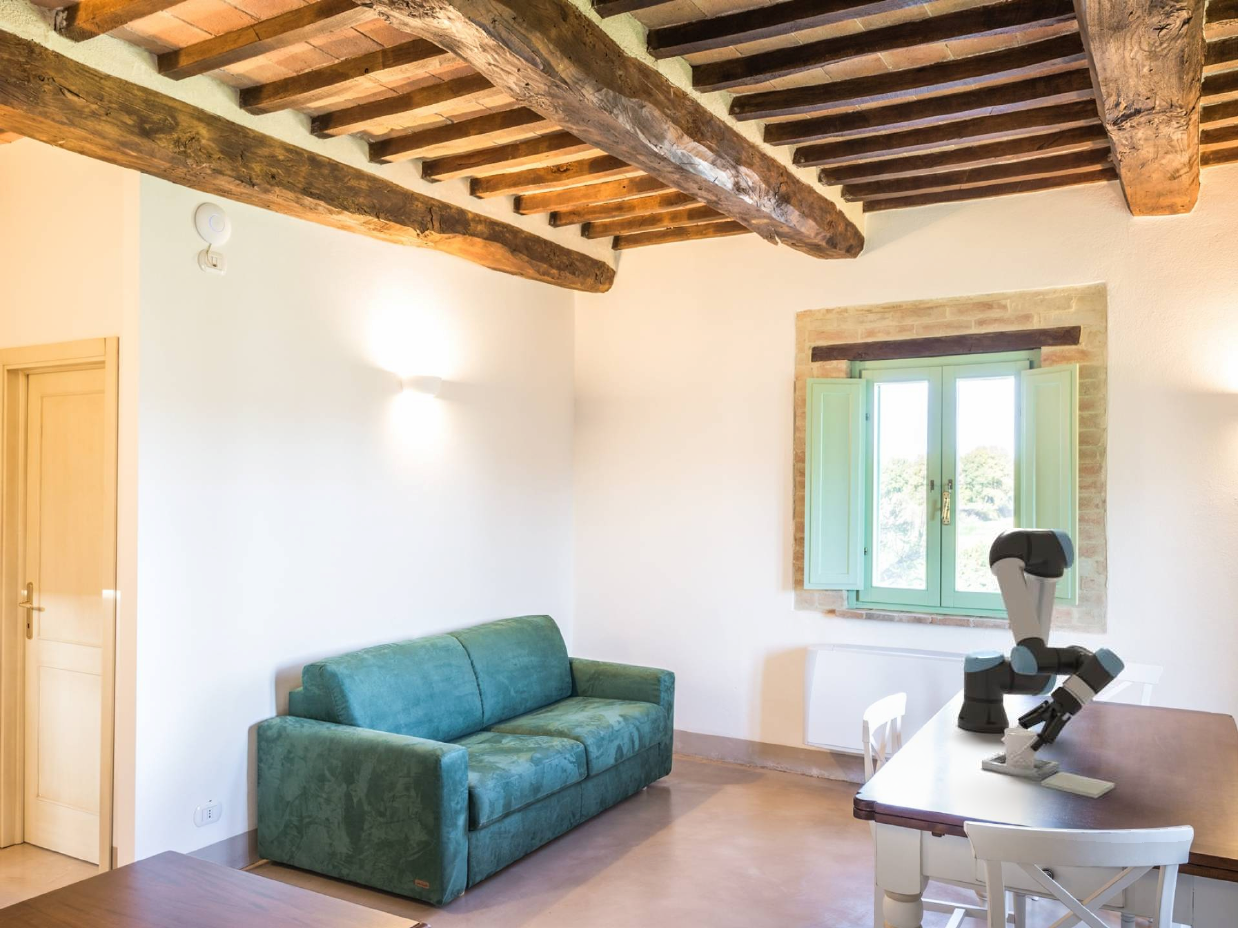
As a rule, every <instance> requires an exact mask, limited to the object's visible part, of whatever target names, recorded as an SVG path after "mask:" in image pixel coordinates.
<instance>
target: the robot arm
mask: <svg viewBox="0 0 1238 928" xmlns="http://www.w3.org/2000/svg"><path fill="white" fill-rule="evenodd" d="M988 555H989V556H988V565H989V566H990V567H989V568H990V571H991V574H992V575H994V576H995V577H996V580H997V583H998V586H999V590H1000V593H1001V598H1002V600H1003V604H1004V608H1005V611H1006V614H1007V617H1008V621H1009V625H1010V628H1011V632H1012V635H1013V638H1014V641H1015V645H1016V646H1014V647H1012V648H1011V650H1010V656H1005V655H1004V653H1003V652H1001V651H995V650H993V651H992V650H991V651H990V650H983V651H982V650H981V651H980V650H979V651H975V652H971V653H969V654H967V655H966V656H965V657H964V664H963V676H964V677H963V702H962V704H961V707H960V710H959V713H958V716H957V726H958V727H960V728H962V729H964V730H968V731H973V732H979V733H987V734H1001V733H1005V729H1007V728H1010V722H1009V721H1010V720H1009V718H1008V715H1007V710H1006V708H1005V705H1004V695H1011V696H1032V697H1037V696H1046V695H1049V694H1050V697H1051V698H1052V699H1053V700H1052V701H1049V700H1048V699H1045V700H1043V702H1041V703H1040V704H1039V705H1037V706H1036V707H1034V708H1033V709H1031V710H1029V711H1028V712H1026V713H1024V714H1022V715H1021V716H1019V717H1018V718H1017V721H1018V723H1017V724H1016V725H1014V727H1013V728H1022V729H1028V730H1029V729H1030V728H1032V727H1036V725H1039V724H1042V723H1044V724H1043V726H1042V728H1041V730H1040V732H1039V733H1037V734H1036V735H1037V736H1035V737H1034V738H1033V739H1032V740H1031V741H1030V742H1029V743H1028V744H1027V745H1026V746H1025V747H1024V748H1022V749H1021V750H1020V751H1019V752H1018V754H1019V755H1020V756H1021V757H1022V758H1023V759H1024V760H1025V761H1027V760H1028V759H1029V758H1031V757H1032V756H1033V755H1034V754H1035V753H1037V752H1038V751H1039V750H1040V749H1041V748H1043V746H1045V745H1046V746H1047V745H1048V744H1049V745H1052V744H1054V742H1055V740H1056V739H1057V738H1058V736H1059V735H1060V733H1061V732H1062V731H1063V730H1064V727H1065V726H1066V725H1067V723H1068V722H1069V721H1070V720H1071V719H1072V717H1074V716H1075V715H1077V713H1079V712H1080V711H1081V710H1082V709H1083V706H1086V705H1087V704H1088V703H1089V702H1092V701H1094V698H1095V697H1096V696H1097V695H1098V694H1099V693H1100V692H1101V691H1103V690H1104V689H1105V688H1106V687H1107V686H1108V685H1109V684H1110V683H1112V682H1113V681H1114V680H1115V679H1116V678H1118V676H1119V674H1120V673H1122V672H1123V670H1124V669H1125V663H1124V662H1123V660H1122V659H1121V658H1120V657H1119V656H1118V655H1117V654H1115V653H1114V652H1113V651H1112V650H1111V649H1109V648H1108V647H1101V648H1099V649H1097V650H1096V651H1094V652H1093V651H1091V650H1089V649H1087V648H1086V647H1084V646H1079V645H1075V644H1073V645H1068V646H1067V647H1055V646H1054V647H1053V646H1052V647H1050V646H1049V647H1048V645H1049V638H1050V630H1051V624H1052V617H1053V611H1054V610H1053V609H1054V603H1055V595H1056V589H1057V581H1058V580H1059V579H1061V578H1063V576H1064V571H1065V570H1066V569H1068V570H1069V569H1070V568H1071V567H1072V566H1073V564H1074V560H1075V548H1074V545H1073V542H1072V538H1071V537H1070V535H1069V534H1068V533H1067V532H1066V531H1065V530H1061V529H1056V528H1055V529H1054V528H1021V527H1013V528H1009V529H1006V530H1004V531H1003V532H1001V533H1000V534H999V535H998V536H997V537H996V538H995V539H994V540H993V543H991V547H990V550H989V553H988ZM1058 676H1064V677H1065V676H1067V678H1066V679H1065V680H1064V681H1063V682H1062V683H1061V685H1062V686H1061V685H1060V686H1058V687H1057V688H1056V689H1055V686H1056V684H1057V679H1058ZM1054 689H1055V690H1054ZM1053 690H1054V691H1053ZM1052 691H1053V692H1052ZM1000 741H1001V742H1002V743H1003V744H1005V735H1004V736H1003V737H1002V738H1001V739H1000ZM1035 755H1036V754H1035Z"/></svg>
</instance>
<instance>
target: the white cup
mask: <svg viewBox="0 0 1238 928" xmlns="http://www.w3.org/2000/svg"><path fill="white" fill-rule="evenodd" d="M1036 734H1038V732H1037V731H1034V730H1033V729H1032V730H1031V729H1029V728H1028V729H1022V728H1014V727H1009V728H1007V729H1005V732H1004V736H1005V743H1004V747H1005V748H1004V750H1005V751H1006V761H1005V763H1006V764H1005V765H1009V766H1014V767H1018V768H1023V769H1027V770H1032V771H1035V766H1034V761H1035V758H1036V753H1037V752H1036V753H1035V754H1034V755H1033V756H1032V757H1031V758H1029V759H1028V760H1027V761H1025V760H1024V759H1023V758H1022V757H1021V756H1020V755H1019V754H1018V752H1019V751H1020V750H1021V749H1022V748H1024V747H1025V746H1026V745H1027V744H1028V743H1029V742H1030V741H1031V740H1032V739H1033V738H1034V737H1035V736H1037V735H1036ZM1037 737H1038V736H1037Z"/></svg>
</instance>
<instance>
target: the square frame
mask: <svg viewBox="0 0 1238 928" xmlns="http://www.w3.org/2000/svg"><path fill="white" fill-rule="evenodd" d="M1004 762H1006V750H1005V751H1002V752H999V753H997V754H995V755H992V756H990V757H988V758H985V759H982V760H981V769H984V770H988V771H992V772H996V773H997V772H998V773H1001V774H1005V775H1009V776H1013V777H1018V778H1023V779H1027V780H1032V781H1036V782H1038V781H1039V780H1041V779H1043V778H1046V777H1048V776H1050V775H1052V774H1054V773H1056V772H1058V771H1059V762H1058V761H1057V762H1056V761H1052V760H1048V759H1043V758H1038V757H1035V761H1034V767H1037V768H1038V769H1034V771H1032V770H1027V769H1023V768H1018V767H1014V766H1009V765H1006V764H1005V763H1004Z"/></svg>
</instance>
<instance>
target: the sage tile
mask: <svg viewBox="0 0 1238 928" xmlns="http://www.w3.org/2000/svg"><path fill="white" fill-rule="evenodd" d="M1040 785H1041V786H1042V787H1046V788H1051V789H1055V790H1059V791H1065V792H1068V793H1072V794H1076V795H1081V796H1085V797H1090V798H1093V799H1097V798H1099V797H1100V796H1103V795H1104V794H1106V793H1108V792H1109V791H1111V790H1113V789H1114V788H1115V783H1114V782H1109V781H1105V780H1102V779H1101V780H1100V779H1098V778H1097V779H1096V778H1091V777H1086V776H1083V775H1078V774H1073V773H1068V772H1063V771H1060V772H1057V773H1056V774H1053V775H1051V776H1049V777H1047V778H1045V779H1044V780H1041V782H1040Z"/></svg>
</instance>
